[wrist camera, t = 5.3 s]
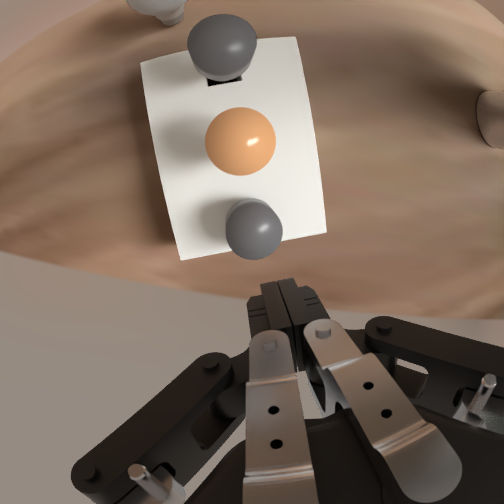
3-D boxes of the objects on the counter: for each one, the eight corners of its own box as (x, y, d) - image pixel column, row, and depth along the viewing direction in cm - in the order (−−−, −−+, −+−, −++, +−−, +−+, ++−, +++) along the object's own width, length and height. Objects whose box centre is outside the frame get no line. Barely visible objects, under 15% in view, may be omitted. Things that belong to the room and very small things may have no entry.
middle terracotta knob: (255, 116, 24) (269, 102, 16) (263, 162, 26) (280, 169, 18) (206, 125, 24) (199, 114, 16) (215, 171, 26) (212, 181, 18)
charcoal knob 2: (263, 185, 30) (278, 200, 22) (269, 225, 31) (286, 253, 23) (221, 193, 29) (220, 210, 21) (229, 233, 31) (231, 264, 23)
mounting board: (284, 52, 25) (295, 36, 20) (311, 219, 32) (326, 232, 27) (152, 74, 25) (140, 62, 20) (187, 243, 31) (181, 260, 27)
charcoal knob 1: (242, 48, 22) (250, 10, 14) (250, 90, 23) (262, 65, 15) (194, 56, 22) (183, 21, 14) (202, 98, 23) (192, 76, 15)
